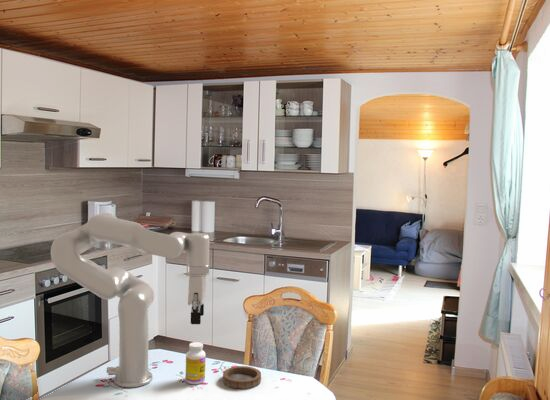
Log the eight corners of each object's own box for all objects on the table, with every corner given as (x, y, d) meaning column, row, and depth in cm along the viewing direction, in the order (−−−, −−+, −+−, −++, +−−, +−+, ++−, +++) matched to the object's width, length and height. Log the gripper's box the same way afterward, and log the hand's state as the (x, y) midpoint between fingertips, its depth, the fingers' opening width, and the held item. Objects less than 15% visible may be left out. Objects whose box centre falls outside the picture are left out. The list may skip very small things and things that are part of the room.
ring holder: (221, 389, 165) (222, 381, 165) (224, 373, 178) (224, 365, 178) (260, 389, 166) (261, 381, 166) (260, 373, 179) (260, 366, 179)
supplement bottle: (201, 386, 167) (201, 348, 166) (182, 383, 168) (183, 346, 168) (207, 378, 174) (208, 342, 173) (189, 376, 175) (190, 340, 174)
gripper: (190, 264, 177) (189, 312, 178) (183, 275, 160) (182, 327, 161) (211, 265, 177) (210, 312, 179) (206, 275, 160) (205, 327, 161)
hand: (197, 319), depth 170 cm, fingers open, 9 cm apart
